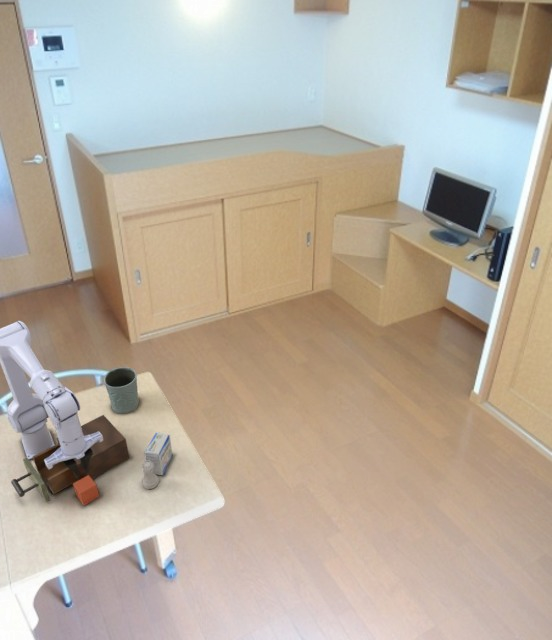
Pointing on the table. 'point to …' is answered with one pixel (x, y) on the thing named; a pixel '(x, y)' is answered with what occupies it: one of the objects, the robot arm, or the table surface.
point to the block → (86, 490)
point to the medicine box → (159, 452)
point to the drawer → (46, 475)
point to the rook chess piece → (149, 475)
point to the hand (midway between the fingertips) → (81, 472)
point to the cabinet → (103, 448)
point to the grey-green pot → (122, 389)
